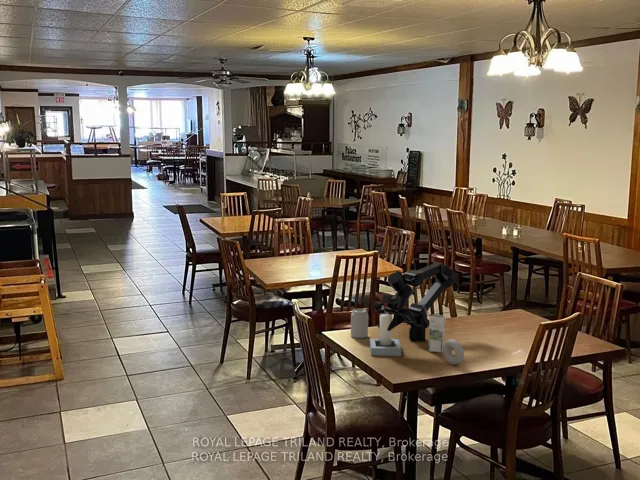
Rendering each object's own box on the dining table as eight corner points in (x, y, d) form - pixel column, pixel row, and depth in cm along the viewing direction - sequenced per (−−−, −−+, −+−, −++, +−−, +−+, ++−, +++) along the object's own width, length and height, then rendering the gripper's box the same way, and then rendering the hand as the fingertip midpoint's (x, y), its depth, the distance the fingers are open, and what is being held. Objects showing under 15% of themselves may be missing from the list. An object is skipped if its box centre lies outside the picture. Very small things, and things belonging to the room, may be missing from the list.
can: (368, 334, 281) (368, 308, 279) (367, 339, 274) (368, 312, 272) (351, 333, 282) (351, 307, 280) (350, 339, 274) (350, 312, 272)
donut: (440, 361, 247) (441, 336, 246) (447, 359, 249) (447, 335, 247) (459, 369, 239) (460, 343, 237) (465, 367, 241) (466, 342, 239)
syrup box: (444, 349, 262) (445, 314, 259) (442, 353, 256) (443, 318, 254) (430, 347, 264) (431, 313, 261) (428, 351, 258) (429, 317, 256)
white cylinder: (392, 342, 260) (393, 314, 258) (389, 346, 256) (389, 317, 254) (381, 341, 262) (381, 313, 260) (378, 344, 258) (378, 316, 256)
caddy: (398, 345, 265) (398, 339, 265) (401, 355, 253) (401, 348, 253) (369, 345, 266) (369, 338, 265) (371, 355, 254) (371, 348, 253)
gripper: (375, 282, 265) (357, 313, 259) (410, 290, 251) (392, 323, 246) (387, 297, 271) (369, 327, 266) (422, 306, 258) (404, 338, 252)
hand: (383, 328), depth 257 cm, fingers closed on white cylinder, 5 cm apart
